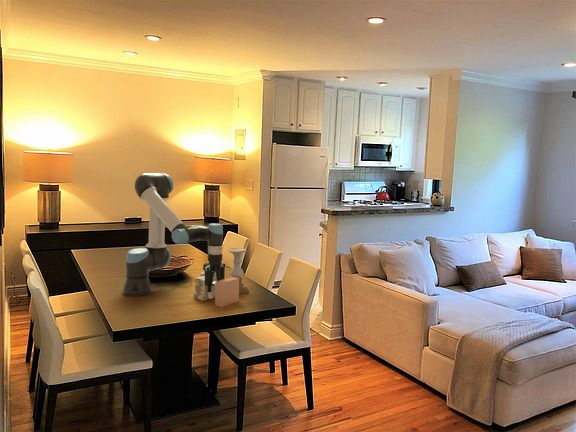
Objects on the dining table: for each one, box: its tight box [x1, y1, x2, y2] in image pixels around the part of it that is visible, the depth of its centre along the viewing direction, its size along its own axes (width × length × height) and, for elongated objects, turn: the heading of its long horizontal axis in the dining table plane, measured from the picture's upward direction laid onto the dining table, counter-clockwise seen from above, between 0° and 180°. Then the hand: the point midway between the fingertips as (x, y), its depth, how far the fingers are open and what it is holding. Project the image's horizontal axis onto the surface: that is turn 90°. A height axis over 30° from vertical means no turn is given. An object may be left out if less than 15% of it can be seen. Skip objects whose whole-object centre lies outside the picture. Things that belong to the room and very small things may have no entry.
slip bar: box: [206, 281, 216, 294], centre depth 259 cm, size 15×5×5 cm, turn 54°
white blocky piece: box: [193, 276, 215, 301], centre depth 263 cm, size 7×10×11 cm
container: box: [199, 262, 217, 281], centre depth 287 cm, size 8×8×13 cm
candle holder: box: [228, 247, 250, 295], centre depth 275 cm, size 11×11×24 cm
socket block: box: [214, 276, 240, 308], centre depth 253 cm, size 4×13×12 cm, turn 144°
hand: (214, 296), depth 259 cm, fingers closed on slip bar, 5 cm apart
